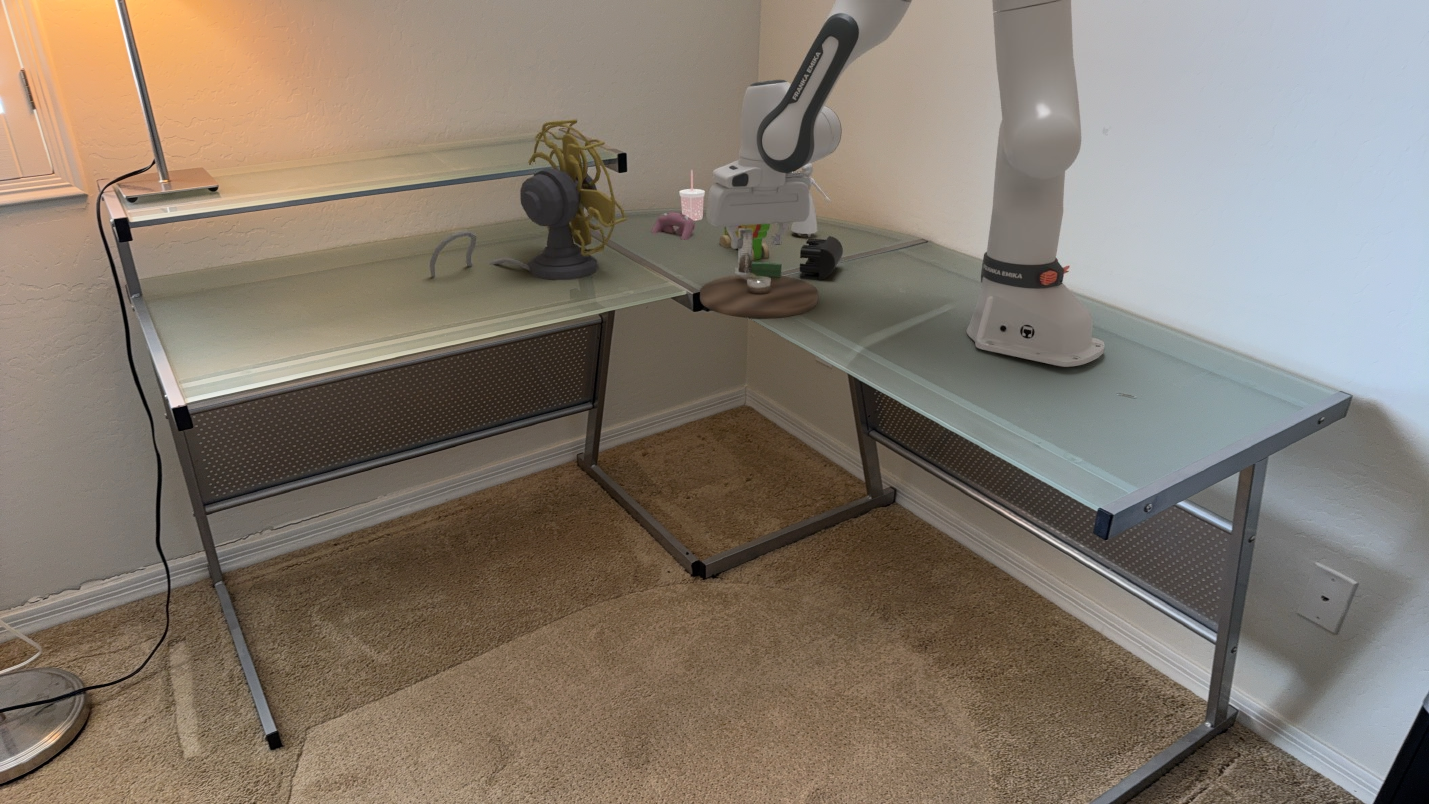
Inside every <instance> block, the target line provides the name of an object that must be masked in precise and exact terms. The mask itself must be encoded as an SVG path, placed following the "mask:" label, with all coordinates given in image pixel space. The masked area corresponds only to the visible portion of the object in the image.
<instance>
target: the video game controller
mask: <svg viewBox="0 0 1429 804" xmlns="http://www.w3.org/2000/svg"><path fill="white" fill-rule="evenodd" d="M695 226H696V224H695V221H693V220H692V219H691V218H689V217H687V216H686V215H684V214H682V212H681V213H679V212H665V213H661V214H660V215H659V216H658V217H657V218H656V220H655V223H654V225H653V228H652V230H651V234H658V233H660V232H662V231H663V232H665V233H670V234H674V233H675V235H679V236H681V237H680V240H681V241H686V240H689V239H691V238H692V234H693V231H694V230H695ZM674 227H678V228H677V229H676V230H675V228H674Z"/></svg>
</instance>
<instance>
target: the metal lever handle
mask: <svg viewBox="0 0 1429 804" xmlns="http://www.w3.org/2000/svg"><path fill="white" fill-rule="evenodd" d="M739 239H742V244H741V245H742V248H739V249H737V250H738V252H737V255H738V258H737V262H738V263H737V266H735V268H734V274H736V275H739V276H741V277H742V278H744V279H746V280H747V290H748V291H749V292H752V293H767V292H769V291H771V278H769V277H766V276H756V275H755V274H753V273H751V271H752V262H753V261H752V229H751V228H740V229H739Z"/></svg>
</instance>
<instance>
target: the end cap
mask: <svg viewBox="0 0 1429 804" xmlns="http://www.w3.org/2000/svg"><path fill="white" fill-rule="evenodd" d="M805 243H806V244H804V245H802V246H801V247H800V252H799V253H800V255H799V258H801V259H807V260H806V261H805V263H800V264H799V272H800V274H799V278H800V280H814V281H822V280H824V279H825V278H827V277H828V276H830V275H831V274H832V273H833V272H834V270H835V268H836V267H837V266H838V264H839V262H840V261H841V259H842V257H843V253H844V250H843V249H844V248H843V245H842V243H841V242H840V240H839V239H838V238H836V237H834V236H830V235H828V237H827V238H826V239H824V238H823V239H821V238H811V237H808V238H807V240H806V241H805Z"/></svg>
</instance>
